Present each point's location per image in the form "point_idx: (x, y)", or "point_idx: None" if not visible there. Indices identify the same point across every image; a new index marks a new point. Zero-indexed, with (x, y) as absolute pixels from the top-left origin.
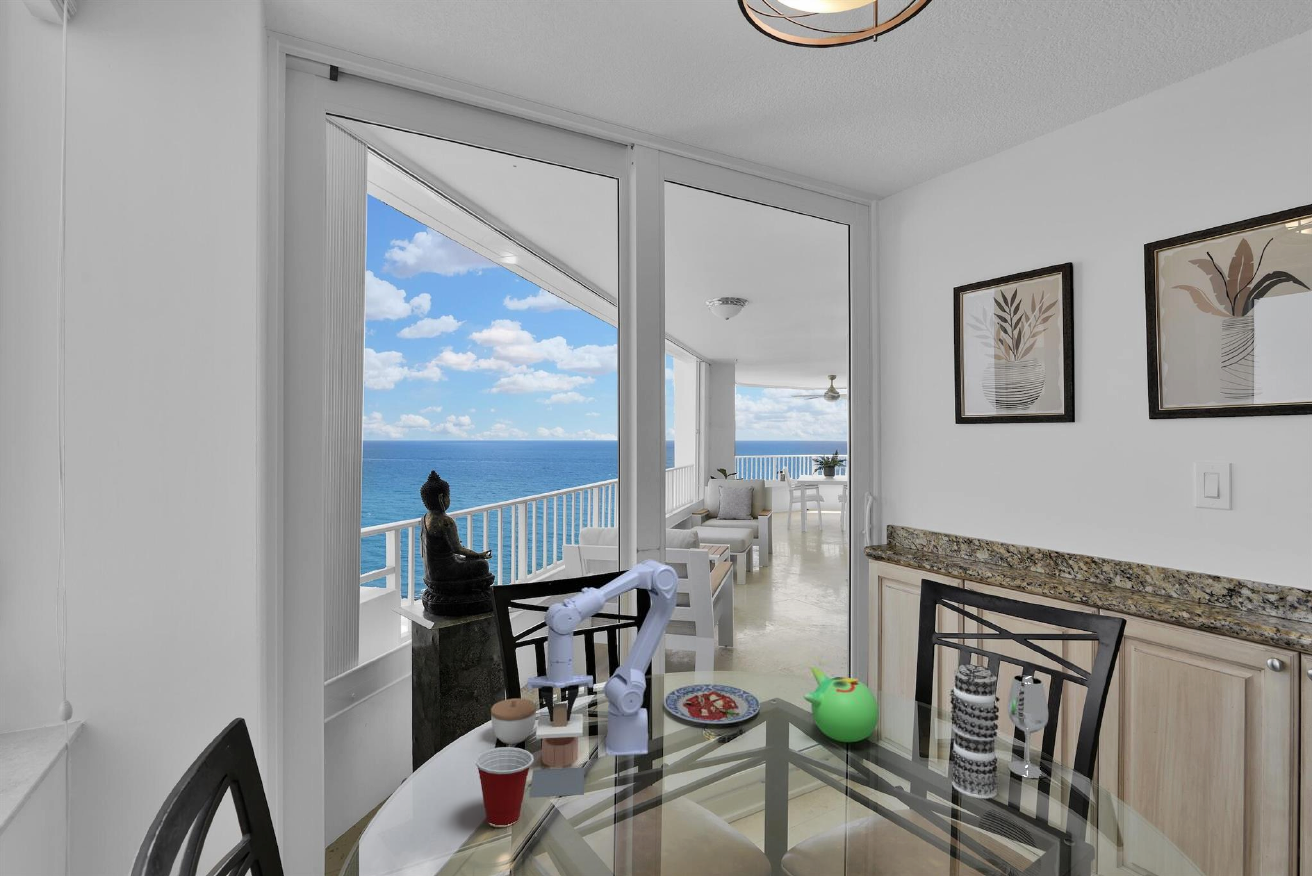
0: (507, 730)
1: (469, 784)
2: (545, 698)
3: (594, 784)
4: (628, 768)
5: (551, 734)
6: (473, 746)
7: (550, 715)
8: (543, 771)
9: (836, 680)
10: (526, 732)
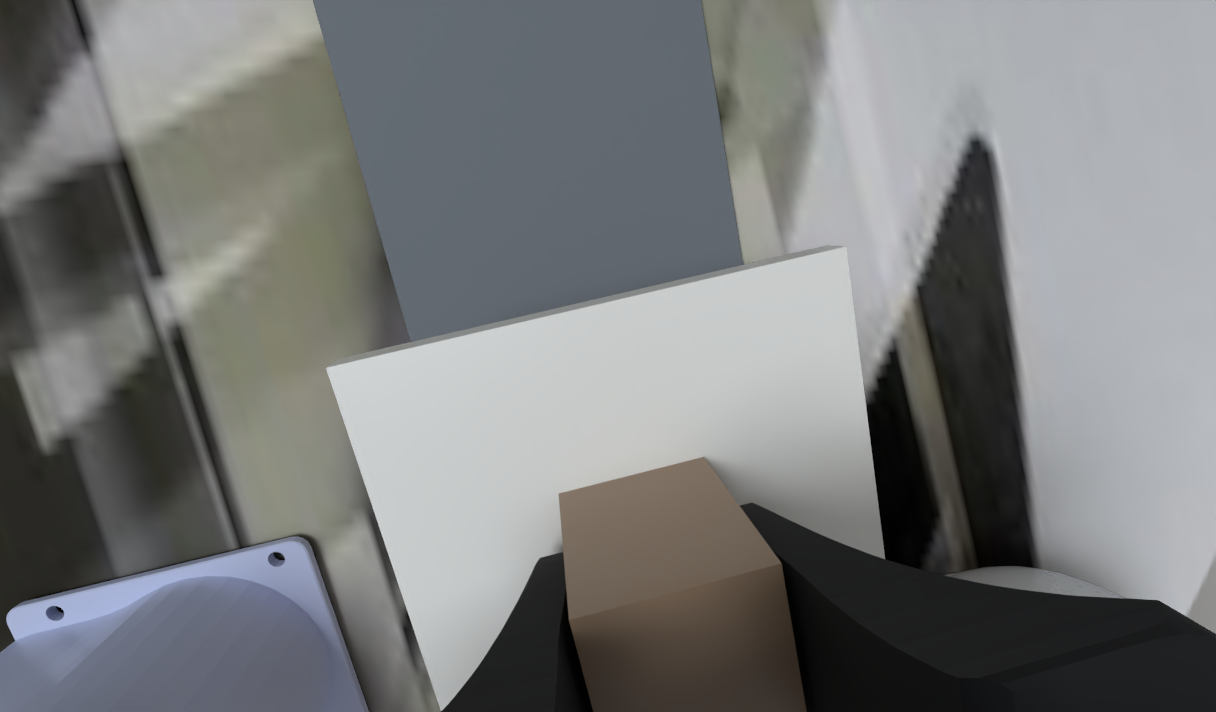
0: (1053, 587)
1: (1089, 74)
2: (1047, 610)
3: (283, 155)
4: (101, 402)
5: (679, 285)
6: (1153, 520)
7: (782, 521)
8: (675, 266)
9: None
10: None
